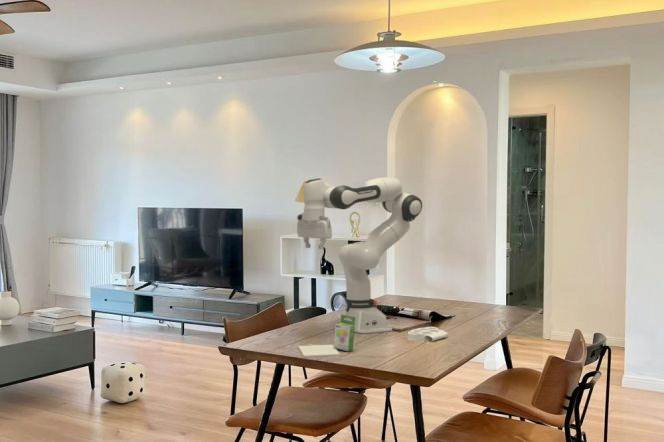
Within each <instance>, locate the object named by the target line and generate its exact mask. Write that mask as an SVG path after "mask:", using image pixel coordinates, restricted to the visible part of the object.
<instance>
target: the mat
mask: <svg viewBox="0 0 664 442" xmlns="http://www.w3.org/2000/svg"><path fill="white" fill-rule="evenodd" d="M297 347H298V350H299V351H300V353H301V355H302V357H303V358H314V357H315V358H316V357H318V358H319V357H335V356H341V352H339V350H338V349H335V348H334V344H317V345H314V344H313V345H298V346H297Z"/></svg>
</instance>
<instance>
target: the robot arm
mask: <svg viewBox="0 0 664 442" xmlns="http://www.w3.org/2000/svg"><path fill="white" fill-rule="evenodd" d="M303 201H304V207H303V212H301V213H300V214H298V215H296V220H297V223H296V224H297V225H296V233H297V237H299V238H303V243H304V244H305V245H304V247H305V249H310V248H311V243H310V239H319V241H320V244H319V245H318V250H324V249H325V244H326V242H327V240H328V239H330V240H331V238H332V237H333V230H332V223H331V220H330V218H329V217H327V216H326V215H325V208H327V209H336V210H337V209H339V210H347V209H350V208H351V207H352V206H354V205H355V204H357V203H363V202H368V203H371V204H374V203H381V205H382V207H383V209H384V210H385V211H387V212H388V213H391V214H390V216H389V217H388V219H386V220H384V221H383V222H382V223H380V224H379V225H378V226H377V227H375V228H374V229H373V230H371V231H370V232H369V234H368V237H367V238H366V239H365V241H363V242H362V243H360V244H357V243H349V244H345V245H343V246H342V247H341V248H340V249H339V251H338V259H339V261H340V263H341V265H342V267H343V268H342V269H343V272H344V275H345V283H346V284H345V287H346V298H345V303H344V305H345V306H344V308H345V315H348V316H353V317H356V318H355V331H354V333H357V334H369V333H381V332H392V331H393V327H392V325H390V324H388V320H387V317H386V315H385V314H384V313H383V312H382V311H381V310H380V309H378V308H377V307H376V306H377V305H378V303H379V302H378V301H377V300H376V299H373V298H371V297H372V296H371V293H372V292H371V291H372V289H371V281H370V277H368V273H367V271H368V270H372V269H375V268H376V267H377V266H378V265H379V263H380V258H381V257H382V256H383V254H385V252H386V251H387V250H389V249H390V248H391V247H392V246H394V245H395V244H397V242H399V241H400V240H401V239H402V238H403V237H404V236H405V235H406V233H407V232H408V231H409V230H410V228H411V227H410V222H413V221H414V220H415V219H416V218H417V217H418V216H419V215H420V213H421V212H422V209H423V201H422V200H421V199H420V197H418V196H416V195H415V194H410V193H408V192H405V191H403V185H402V182H401V181H400V179H398V178H396V177H386V176H385V177H376V178H372V179H369V180H366V181H365V182H363V186H360V187H350V186H348V185H335V186H334V185H331V184H329V183H327V182H325V181H324V180H323V179H322V178H320V177H319V178H312V179H311V178H310V179H308V180H306V182H304V187H303ZM344 320H348V321H352V320H351V319H350V318H344ZM387 324H388V325H387ZM389 325H390V326H389ZM390 327H391V328H390Z"/></svg>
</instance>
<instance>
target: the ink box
mask: <svg viewBox="0 0 664 442" xmlns="http://www.w3.org/2000/svg"><path fill="white" fill-rule="evenodd" d="M345 318H350V319H351V320H352V321H348V320H345ZM355 318H356V317H353V316H348V315H346V314H342V313H341V314H340V321H339V322H338V323H335V326H334V340H333V346H334V348H335V349H336V350H341V351H345V352H351V351H353V350H354V341H355V339H354V338H355V332H354V331H355Z"/></svg>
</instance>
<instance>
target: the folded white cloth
mask: <svg viewBox="0 0 664 442" xmlns="http://www.w3.org/2000/svg"><path fill="white" fill-rule="evenodd" d="M447 337H449V333H448V332H446V331H445V330H442V329H439V327H436V326H426V327H419V328H415V329H411V330H410V331H408V332H407V340H408V341H412V340H413V342H414V341H415V342H417V341H419V340H424V342H428V341H429V340H430V342H434V341H439V340H441V339H445V338H447ZM430 342H429V343H430Z"/></svg>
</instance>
